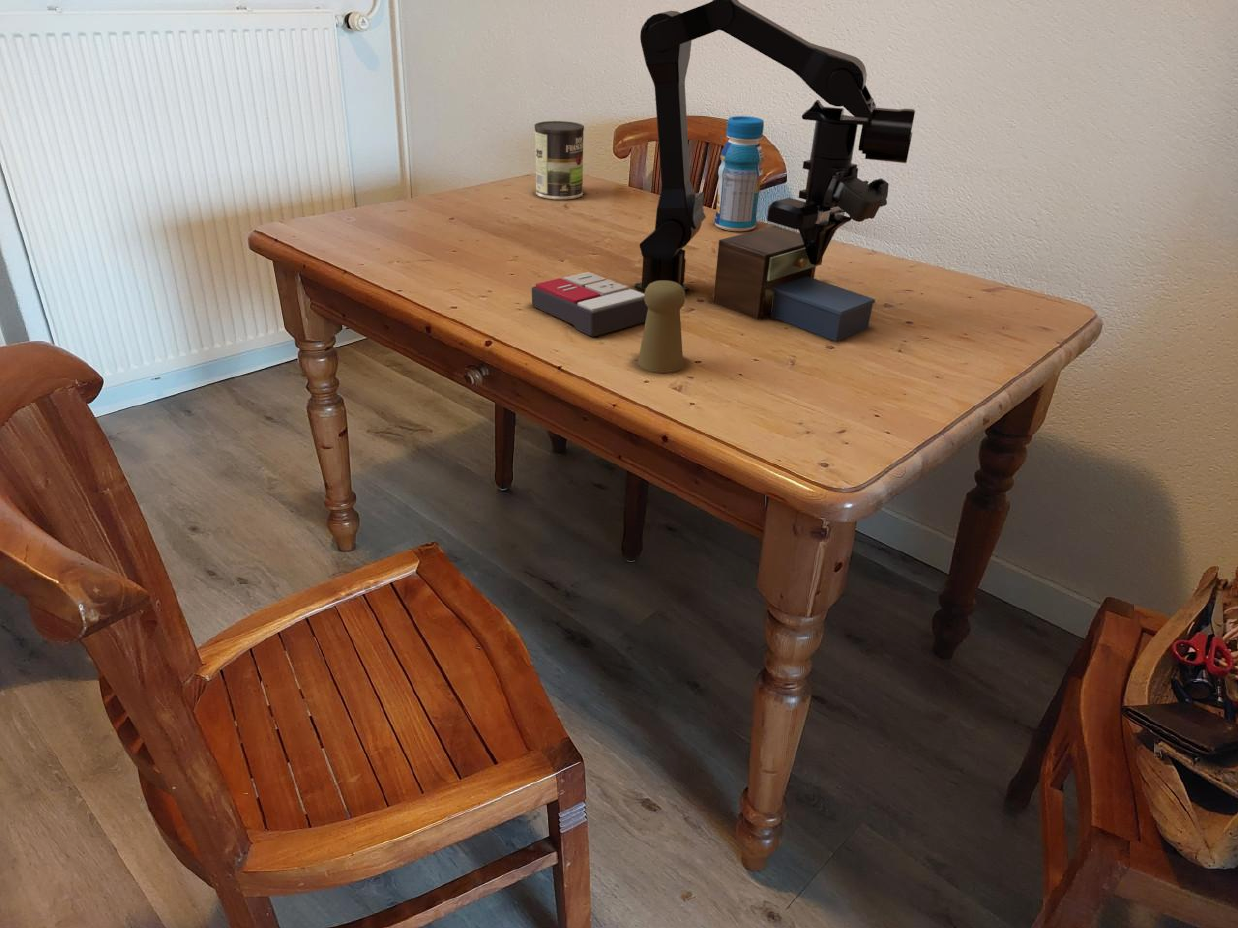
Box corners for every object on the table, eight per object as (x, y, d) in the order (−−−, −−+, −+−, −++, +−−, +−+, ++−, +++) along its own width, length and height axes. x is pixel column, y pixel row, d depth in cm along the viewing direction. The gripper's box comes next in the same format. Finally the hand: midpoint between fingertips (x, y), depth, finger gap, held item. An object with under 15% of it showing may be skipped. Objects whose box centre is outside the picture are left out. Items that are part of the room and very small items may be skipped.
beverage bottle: (729, 234, 167) (741, 124, 157) (705, 223, 173) (714, 116, 163) (765, 229, 171) (778, 122, 160) (739, 218, 177) (750, 114, 166)
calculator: (588, 269, 136) (652, 292, 126) (588, 295, 138) (651, 320, 128) (529, 282, 130) (592, 308, 119) (531, 310, 132) (592, 337, 122)
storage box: (836, 342, 124) (841, 311, 121) (768, 316, 131) (772, 287, 129) (869, 328, 129) (875, 299, 126) (802, 304, 136) (807, 276, 134)
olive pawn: (635, 354, 118) (639, 275, 112) (679, 353, 118) (685, 275, 113) (640, 373, 113) (644, 291, 107) (686, 373, 113) (693, 292, 107)
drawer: (775, 283, 126) (778, 260, 124) (724, 265, 132) (726, 243, 130) (827, 266, 133) (831, 244, 131) (777, 250, 139) (779, 229, 137)
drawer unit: (757, 319, 130) (765, 255, 125) (712, 302, 136) (718, 240, 131) (810, 300, 138) (820, 239, 133) (766, 285, 143) (774, 225, 138)
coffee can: (592, 193, 190) (593, 125, 183) (565, 202, 183) (566, 132, 175) (553, 185, 194) (552, 118, 187) (525, 194, 187) (524, 125, 179)
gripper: (839, 175, 111) (820, 292, 119) (918, 158, 122) (895, 266, 130) (771, 159, 118) (757, 270, 126) (852, 144, 129) (834, 247, 137)
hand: (814, 264), depth 130 cm, fingers closed, pressing on drawer
